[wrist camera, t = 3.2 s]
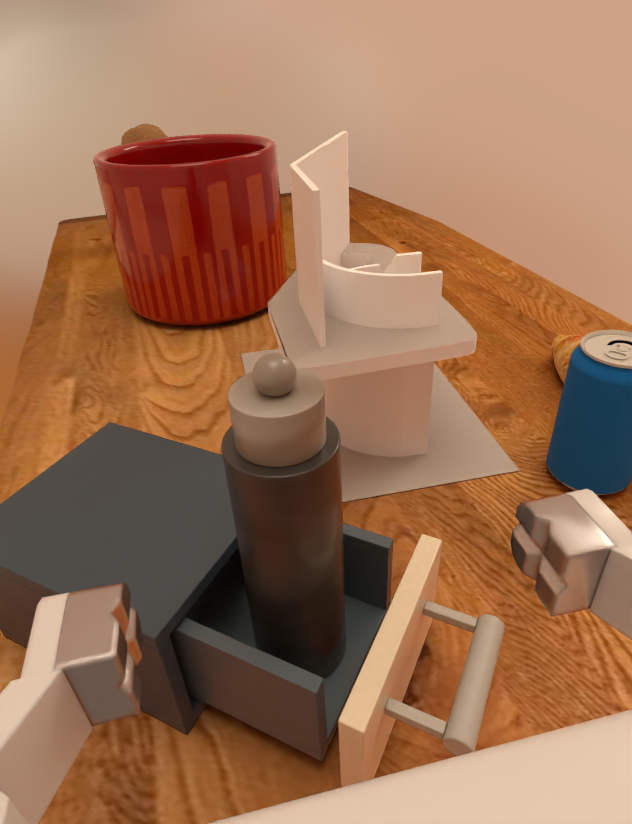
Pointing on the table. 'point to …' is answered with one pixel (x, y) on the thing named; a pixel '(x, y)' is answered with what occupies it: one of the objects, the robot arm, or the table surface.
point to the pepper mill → (288, 512)
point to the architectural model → (375, 345)
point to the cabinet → (122, 544)
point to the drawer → (359, 669)
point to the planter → (195, 225)
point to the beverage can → (595, 416)
